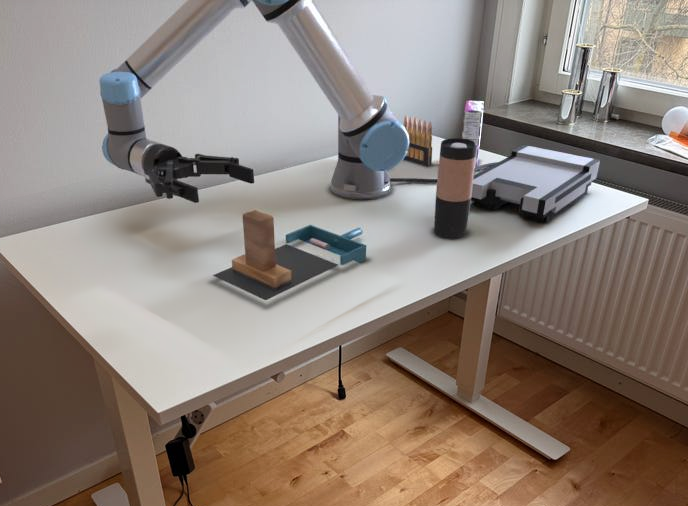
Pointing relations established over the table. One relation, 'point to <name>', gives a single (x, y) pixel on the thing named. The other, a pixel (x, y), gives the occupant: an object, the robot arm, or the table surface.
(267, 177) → the table surface
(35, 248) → the table surface
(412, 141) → the ammunition clip
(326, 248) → the chalk
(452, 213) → the travel mug
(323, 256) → the chalk
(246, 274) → the wooden block on base
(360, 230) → the dustpan
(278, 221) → the table surface
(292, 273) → the chalkboard
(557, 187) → the game console
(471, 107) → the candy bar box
